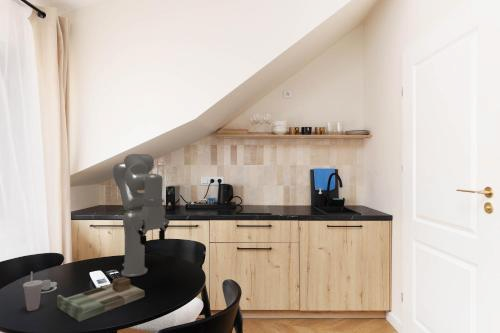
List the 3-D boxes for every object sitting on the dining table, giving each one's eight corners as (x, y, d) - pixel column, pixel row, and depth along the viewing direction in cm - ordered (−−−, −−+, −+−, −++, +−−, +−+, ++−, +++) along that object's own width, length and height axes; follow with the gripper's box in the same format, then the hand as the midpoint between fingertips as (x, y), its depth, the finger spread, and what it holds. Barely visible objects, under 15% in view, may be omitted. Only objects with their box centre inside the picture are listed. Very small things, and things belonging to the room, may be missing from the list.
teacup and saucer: (54, 284, 141) (54, 275, 141) (62, 288, 137) (62, 279, 137) (32, 291, 134) (32, 281, 134) (39, 295, 129) (39, 285, 129)
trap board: (57, 307, 118) (57, 295, 118) (120, 286, 139) (120, 276, 139) (79, 321, 107) (79, 308, 107) (144, 296, 128) (144, 285, 128)
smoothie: (29, 305, 120) (29, 269, 120) (46, 304, 120) (47, 268, 120) (18, 312, 113) (18, 274, 113) (36, 312, 114) (37, 274, 114)
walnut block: (112, 289, 129) (112, 280, 129) (123, 285, 133) (123, 276, 133) (119, 292, 126) (119, 282, 126) (130, 288, 130) (130, 279, 130)
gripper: (163, 200, 143) (163, 237, 144) (130, 204, 129) (130, 245, 129) (174, 202, 139) (174, 239, 139) (141, 206, 125) (141, 248, 125)
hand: (152, 242), depth 134 cm, fingers open, 9 cm apart
